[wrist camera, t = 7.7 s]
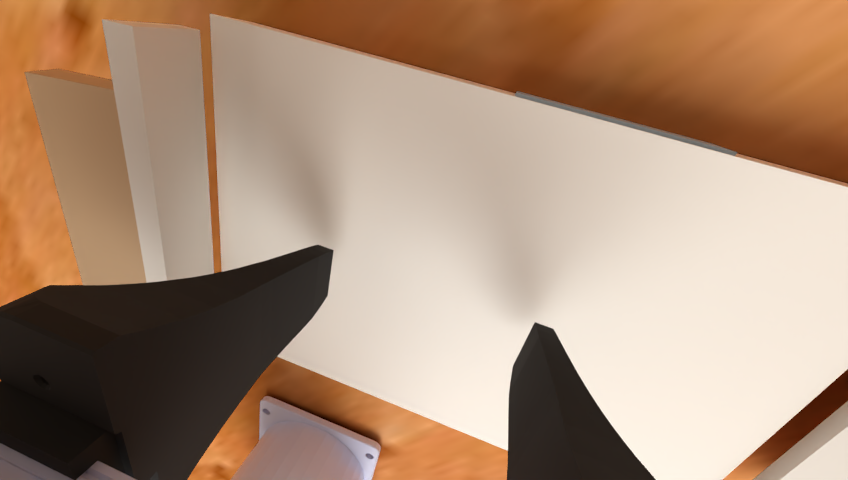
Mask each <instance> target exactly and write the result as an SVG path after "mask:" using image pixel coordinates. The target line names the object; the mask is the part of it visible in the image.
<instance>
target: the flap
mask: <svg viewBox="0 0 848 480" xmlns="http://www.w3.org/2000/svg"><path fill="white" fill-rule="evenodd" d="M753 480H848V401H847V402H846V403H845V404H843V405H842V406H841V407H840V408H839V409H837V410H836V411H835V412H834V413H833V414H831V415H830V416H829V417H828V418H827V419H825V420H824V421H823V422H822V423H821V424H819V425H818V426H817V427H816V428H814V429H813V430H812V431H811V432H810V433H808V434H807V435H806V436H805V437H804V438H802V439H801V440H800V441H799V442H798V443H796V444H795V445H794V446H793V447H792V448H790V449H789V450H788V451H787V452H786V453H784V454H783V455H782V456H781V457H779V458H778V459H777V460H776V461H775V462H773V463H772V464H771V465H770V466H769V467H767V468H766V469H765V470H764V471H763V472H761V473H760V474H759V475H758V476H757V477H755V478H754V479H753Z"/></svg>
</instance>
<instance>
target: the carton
mask: <svg viewBox="0 0 848 480" xmlns="http://www.w3.org/2000/svg"><path fill="white" fill-rule="evenodd" d="M210 31H211V53H212V74H213V96H214V117H215V139H216V160H217V182H218V203H219V225H220V246H221V267H222V272H223V271H228V270H232V269H236V268H240V267H244V266H247V265H251V264H255V263H259V262H262V261H266V260H269V259H272V258H275V257H279V256H282V255H285V254H288V253H291V252H294V251H298V250H301V249H304V248H307V247H311V246H314V245H321V246H323V247H326V248H329V249H332V250H334V251H333V259H332V266H331V274H330V282H329V289H328V296H327V298H326V299H325V301H324V302H323V304H322V305H321V307H320V308H319V310H318V311H317V312H316V314H315V315H314V316H313V318H312V319H311V320H310V321H309V322H308V323H307V325H306V326H305V327H304V328H303V329H302V330H301V331H300V332H299V333H298V334H297V336H296V337H295V338H294V339H293V340H292V341H291V342H290V343H289V344H288V345H287V346H286V347H285V348H284V349H283V351H282V352H281V353H280V354H279V355H278V356H277V357H279V358H282V359H284V360H287V361H289V362H292V363H294V364H296V365H299V366H301V367H304V368H306V369H309V370H311V371H314V372H316V373H319V374H321V375H323V376H326V377H328V378H331V379H333V380H336V381H338V382H341V383H343V384H345V385H348V386H350V387H353V388H355V389H358V390H360V391H363V392H365V393H368V394H370V395H372V396H375V397H377V398H380V399H382V400H385V401H387V402H390V403H392V404H395V405H397V406H399V407H402V408H404V409H407V410H409V411H412V412H414V413H417V414H419V415H422V416H424V417H426V418H429V419H431V420H434V421H436V422H439V423H441V424H444V425H446V426H448V427H451V428H453V429H456V430H458V431H461V432H463V433H466V434H468V435H471V436H473V437H475V438H478V439H480V440H483V441H485V442H488V443H490V444H493V445H495V446H498V447H500V448H502V449H505V450H507V451H508V407H509V389H510V381H511V375H512V368H513V365H514V363H515V361H516V359H517V357H518V355H519V353H520V351H521V349H522V347H523V345H524V343H525V341H526V339H527V337H528V335H529V333H530V331H531V329H532V327H533V325H534V323H535V322H536V323H539V324H541V325H544V326H547V327H550V328H553V329H554V331H555V332H556V334H557V336H558V338H559V340H560V342H561V344H562V345H563V347H564V349H565V351H566V353H567V355H568V356H569V358H570V360H571V362H572V364H573V366H574V367H575V369H576V371H577V373H578V374H579V376H580V378H581V379H582V381H583V383H584V384H585V386H586V388H587V389H588V391H589V393H590V394H591V396H592V397H593V399H594V400H595V402H596V403H597V405H598V406H599V408H600V409H601V411H602V412H603V414H604V415H605V417H606V418H607V419H608V421H609V422H610V424H611V425H612V426H613V428H614V429H615V430H616V432H617V433H618V434H619V436H620V437H621V438H622V439H623V441H624V442H625V443H626V445H627V446H628V447H629V449H630V450H631V451H632V452H633V453H634V455H635V456H636V457H637V458H638V460H639V461H640V462H641V463H642V464H643V465H644V466H645V468H646V469H647V470H648V471H649V472H650V473H651V475H652V476H653V477H654V478H655V479H656V480H722V479H724V478H725V477H726V476H727V475H728V474H729V473H730V472H732V471H733V470H734V469H735V468H736V467H737V466H738V465H739V464H741V463H742V462H743V461H744V460H745V459H746V458H747V457H749V456H750V455H751V454H752V453H753V452H754V451H755V450H757V449H758V448H759V447H760V446H761V445H762V444H763V443H764V442H766V441H767V440H768V439H769V438H770V437H771V436H772V435H774V434H775V433H776V432H777V431H778V430H779V429H780V428H781V427H783V426H784V425H785V424H786V423H787V422H788V421H789V420H791V419H792V418H793V417H794V416H795V415H796V414H797V413H798V412H800V411H801V410H802V409H803V408H804V407H805V406H806V405H808V404H809V403H810V402H811V401H812V400H813V399H814V398H815V397H817V396H818V395H819V394H820V393H821V392H822V391H823V390H825V389H826V388H827V387H828V386H829V385H830V384H831V383H832V382H834V381H835V380H836V379H837V378H838V377H839V376H840V375H842V374H843V373H844V372H845V371H846V370H847V369H848V183H844V182H840V181H837V180H833V179H829V178H826V177H822V176H818V175H815V174H811V173H807V172H804V171H800V170H796V169H792V168H789V167H785V166H781V165H778V164H774V163H770V162H767V161H763V160H759V159H756V158H752V157H748V156H745V155H741V154H737V152H735V151H732V150H729V149H727V148H724V147H721V146H718V145H715V144H712V143H708V142H705V141H701V140H697V139H694V138H690V137H686V136H683V135H679V134H675V133H671V132H668V131H664V130H660V129H657V128H653V127H649V126H646V125H642V124H638V123H634V122H631V121H627V120H623V119H620V118H616V117H612V116H608V115H605V114H601V113H597V112H594V111H590V110H586V109H583V108H579V107H575V106H571V105H568V104H564V103H560V102H557V101H553V100H549V99H546V98H542V97H538V96H534V95H531V94H527V93H523V92H520V91H517V92H516V93H512V92H509V91H505V90H501V89H497V88H494V87H490V86H486V85H483V84H479V83H475V82H472V81H468V80H464V79H461V78H457V77H453V76H450V75H446V74H442V73H438V72H435V71H431V70H427V69H424V68H420V67H416V66H413V65H409V64H405V63H402V62H398V61H394V60H391V59H387V58H383V57H379V56H376V55H372V54H368V53H365V52H361V51H357V50H354V49H350V48H346V47H343V46H339V45H335V44H332V43H328V42H324V41H321V40H317V39H313V38H309V37H306V36H302V35H298V34H295V33H291V32H287V31H284V30H280V29H276V28H273V27H269V26H265V25H262V24H258V23H254V22H250V21H245V20H240V19H235V18H230V17H225V16H220V15H216V14H211V13H210Z"/></svg>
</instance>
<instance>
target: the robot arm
mask: <svg viewBox="0 0 848 480" xmlns="http://www.w3.org/2000/svg"><path fill="white" fill-rule="evenodd" d="M333 251H334V250H332V249H329V248H326V247H323V246H321V245H314V246H311V247H307V248H304V249H301V250H298V251H294V252H291V253H288V254H285V255H282V256H279V257H275V258H272V259H269V260H266V261H262V262H259V263H255V264H251V265H247V266H244V267H240V268H236V269H232V270H228V271H223V272H219V273H214V274H208V275H203V276H197V277H191V278H183V279H175V280H167V281H159V282H148V283H136V284H118V285H49V286H47V287H44V288H42V289H40V290H37V291H35V292H33V293H31V294H28V295H26V296H24V297H22V298H19V299H17V300H15V301H13V302H10V303H8V304H6V305H4V306H1V307H0V379H1V382H0V480H187V479H188V477H189V476H190V474H191V472H192V471H193V469H194V468H195V466H196V465H197V463H198V462H199V460H200V459H201V457H202V456H203V454H204V453H205V451H206V450H207V448H208V447H209V446H210V444H211V443H212V441H213V440H214V438H215V437H216V435H217V434H218V432H219V431H220V429H221V428H222V427H223V425H224V424H225V422H226V421H227V420H228V418H229V417H230V415H231V414H232V413H233V411H234V410H235V409H236V407H237V406H238V404H239V403H240V402H241V400H242V399H243V398H244V396H245V395H246V394H247V392H248V391H249V390H250V388H251V387H252V386H253V384H254V383H255V382H256V380H257V379H258V378H259V376H260V375H261V374H262V373H263V372H264V370H265V369H266V368H267V367H268V366H269V365H270V363H271V362H272V361H273V360H274V359H275V358H276V357H277V356H278V355H279V354H280V353H281V352H282V351H283V349H284V348H285V347H286V346H287V345H288V344H289V343H290V342H291V341H292V340H293V339H294V338H295V337H296V336H297V334H298V333H299V332H300V331H301V330H302V329H303V328H304V327H305V326H306V325H307V323H308V322H309V321H310V320H311V319H312V318H313V316H314V315H315V314H316V312H317V311H318V310H319V308H320V307H321V305H322V304H323V302H324V301H325V299H326V298H327V296H328V289H329V282H330V274H331V266H332V259H333ZM380 450H381V447H380V445H379V444H378V443H377V442H376V441H374V440H371V439H369V438H367V437H364V436H362V435H360V434H357V433H355V432H353V431H350V430H348V429H346V428H343V427H341V426H339V425H336V424H334V423H332V422H329V421H327V420H324V419H322V418H320V417H317V416H315V415H313V414H310V413H308V412H306V411H303V410H301V409H299V408H296V407H294V406H292V405H289V404H287V403H285V402H282V401H280V400H278V399H275V398H273V397H270V396H265V397H263V399H262V400H261V401H260V423H259V442H258V443H257V445H256V446H255V447H254V449H253V450H252V451H251V453H250V454H249V455H248V457H247V458H246V459H245V461H244V462H243V463H242V465H241V466H240V467H239V469H238V470H237V472H236V473H235V474H234V476H233V477H232V478H231V480H372V478H373V474H374V471H375V468H376V464H377V461H378V457H379V454H380ZM507 480H656V479H655V478H654V477H653V476H652V475H651V473H650V472H649V471H648V470H647V469H646V468H645V466H644V465H643V464H642V463H641V462H640V461H639V460H638V458H637V457H636V456H635V455H634V453H633V452H632V451H631V450H630V449H629V447H628V446H627V445H626V443H625V442H624V441H623V439H622V438H621V437H620V436H619V434H618V433H617V432H616V430H615V429H614V428H613V426H612V425H611V424H610V422H609V421H608V419H607V418H606V417H605V415H604V414H603V412H602V411H601V409H600V408H599V406H598V405H597V403H596V402H595V400H594V399H593V397H592V396H591V394H590V393H589V391H588V389H587V388H586V386H585V384H584V383H583V381H582V379H581V378H580V376H579V374H578V373H577V371H576V369H575V367H574V366H573V364H572V362H571V360H570V358H569V356H568V355H567V353H566V351H565V349H564V347H563V345H562V344H561V342H560V340H559V338H558V336H557V334H556V332H555V331H554V329H553V328H550V327H547V326H544V325H541V324H539V323H536V322H535V323H534V325H533V327H532V329H531V331H530V333H529V335H528V337H527V339H526V341H525V343H524V345H523V347H522V349H521V351H520V353H519V355H518V357H517V359H516V361H515V363H514V365H513V368H512V375H511V381H510V389H509V407H508V470H507Z"/></svg>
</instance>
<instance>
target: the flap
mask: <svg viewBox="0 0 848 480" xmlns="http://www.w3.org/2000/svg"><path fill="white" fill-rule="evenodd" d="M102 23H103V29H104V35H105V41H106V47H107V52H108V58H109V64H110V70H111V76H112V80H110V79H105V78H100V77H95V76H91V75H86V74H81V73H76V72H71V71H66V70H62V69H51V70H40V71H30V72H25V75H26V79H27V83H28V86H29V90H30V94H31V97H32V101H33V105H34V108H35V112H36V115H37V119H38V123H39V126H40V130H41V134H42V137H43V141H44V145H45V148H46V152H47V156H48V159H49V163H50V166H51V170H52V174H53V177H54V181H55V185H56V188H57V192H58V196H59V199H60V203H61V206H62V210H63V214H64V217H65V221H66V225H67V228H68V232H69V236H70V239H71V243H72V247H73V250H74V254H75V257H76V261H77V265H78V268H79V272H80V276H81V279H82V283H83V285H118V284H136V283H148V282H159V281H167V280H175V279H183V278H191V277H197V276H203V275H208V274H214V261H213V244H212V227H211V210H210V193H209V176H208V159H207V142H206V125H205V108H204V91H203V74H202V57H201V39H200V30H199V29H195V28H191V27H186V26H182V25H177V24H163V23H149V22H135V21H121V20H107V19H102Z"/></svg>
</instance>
